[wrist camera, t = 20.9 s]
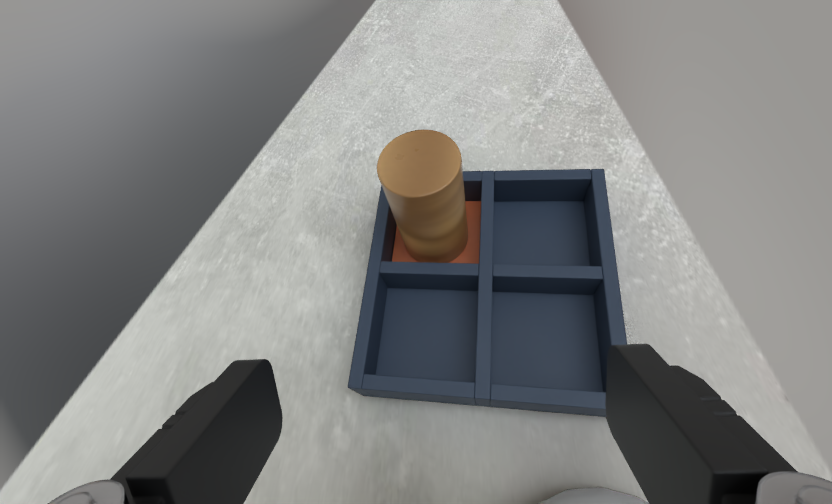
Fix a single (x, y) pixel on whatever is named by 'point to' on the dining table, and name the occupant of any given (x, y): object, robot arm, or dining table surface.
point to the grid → (498, 300)
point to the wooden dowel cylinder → (426, 194)
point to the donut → (593, 497)
